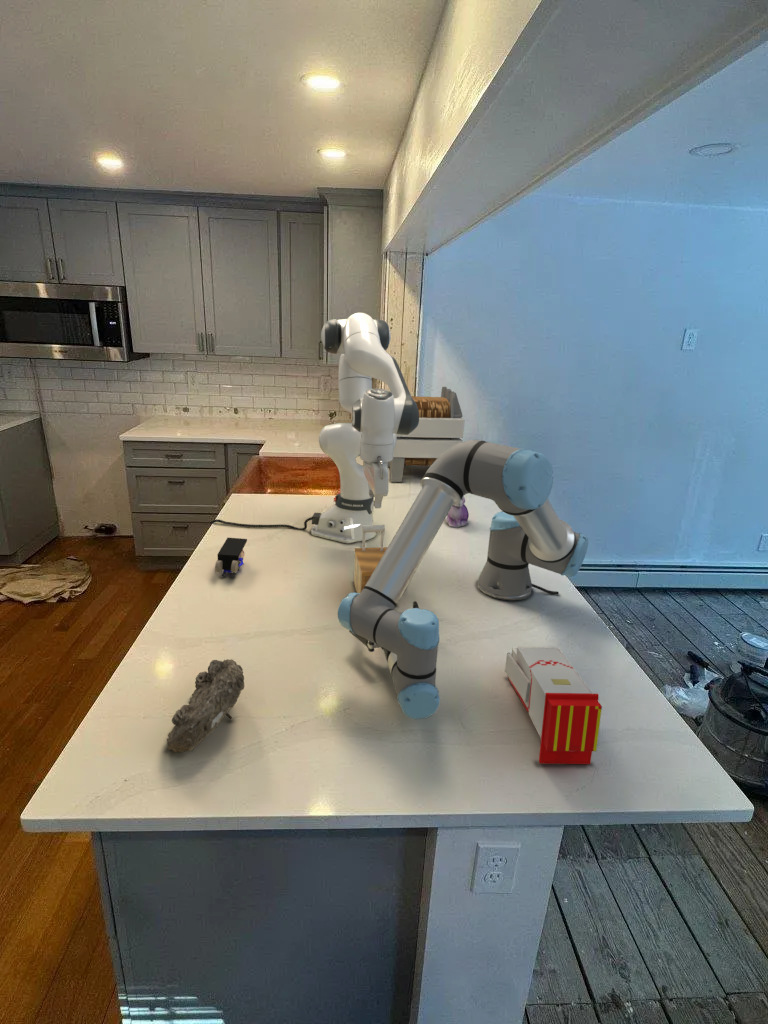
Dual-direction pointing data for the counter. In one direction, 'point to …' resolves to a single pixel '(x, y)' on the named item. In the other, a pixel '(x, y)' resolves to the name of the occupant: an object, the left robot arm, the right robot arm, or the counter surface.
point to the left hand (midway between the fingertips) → (374, 501)
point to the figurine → (458, 514)
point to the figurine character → (230, 556)
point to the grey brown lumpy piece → (206, 705)
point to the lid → (370, 551)
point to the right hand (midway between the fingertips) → (387, 607)
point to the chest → (359, 578)
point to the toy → (556, 704)
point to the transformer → (429, 433)
